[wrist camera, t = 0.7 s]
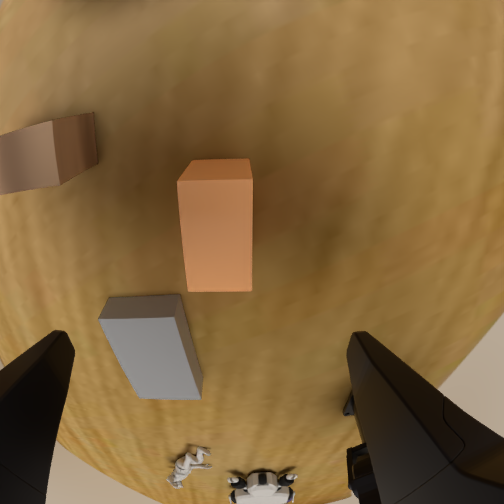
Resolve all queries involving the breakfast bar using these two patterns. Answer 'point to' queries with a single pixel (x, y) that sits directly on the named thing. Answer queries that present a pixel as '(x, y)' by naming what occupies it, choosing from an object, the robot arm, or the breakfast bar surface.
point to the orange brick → (217, 224)
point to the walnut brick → (47, 153)
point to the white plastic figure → (187, 466)
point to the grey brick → (153, 346)
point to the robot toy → (262, 489)
